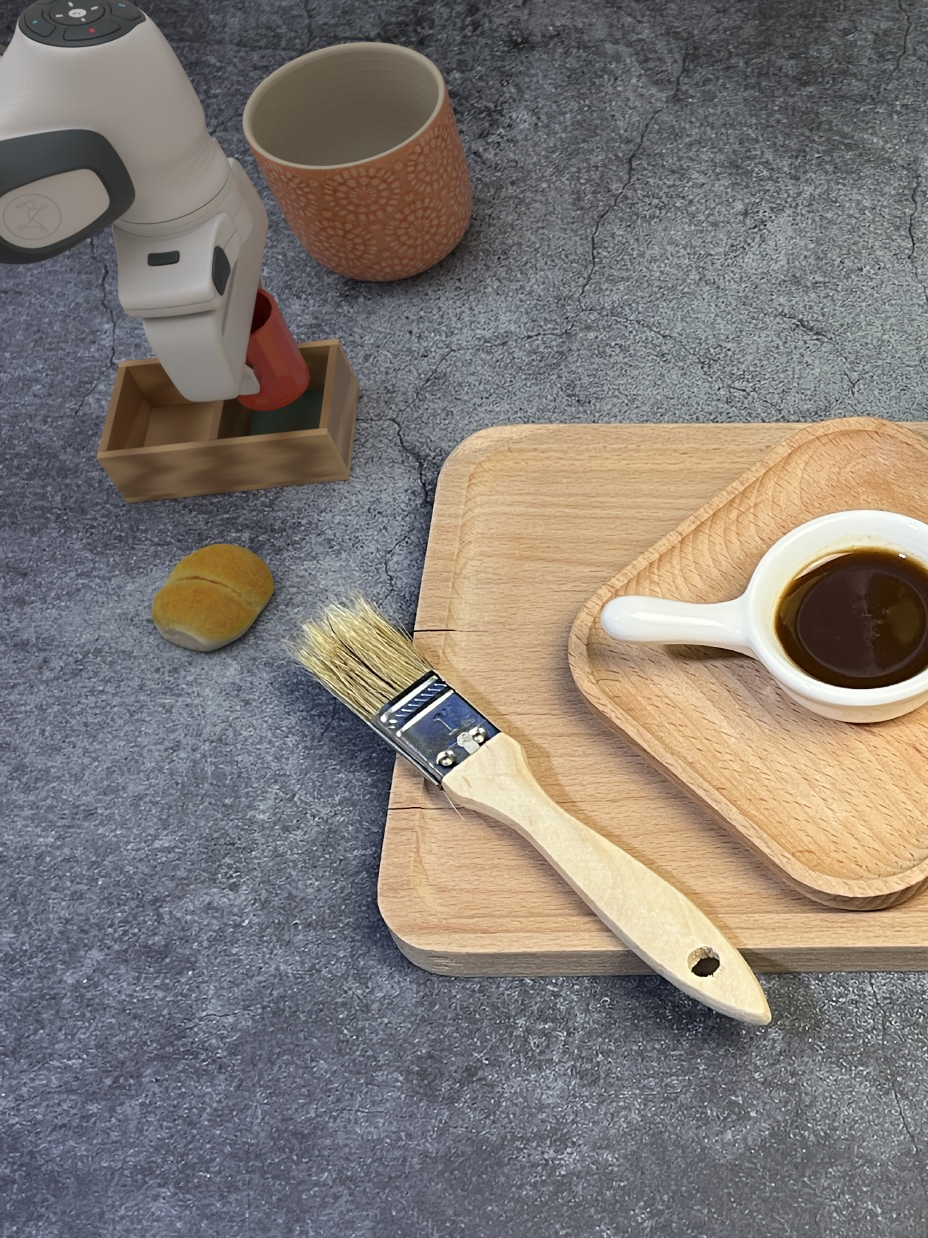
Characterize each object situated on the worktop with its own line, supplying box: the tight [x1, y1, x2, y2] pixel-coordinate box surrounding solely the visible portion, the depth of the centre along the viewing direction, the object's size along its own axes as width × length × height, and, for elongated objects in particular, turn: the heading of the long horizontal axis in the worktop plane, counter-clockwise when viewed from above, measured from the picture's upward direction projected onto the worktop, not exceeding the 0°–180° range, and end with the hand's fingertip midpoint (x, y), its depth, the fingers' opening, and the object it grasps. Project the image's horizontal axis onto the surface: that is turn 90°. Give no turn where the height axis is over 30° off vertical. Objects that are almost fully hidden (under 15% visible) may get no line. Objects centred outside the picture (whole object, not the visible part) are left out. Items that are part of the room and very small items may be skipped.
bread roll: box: [150, 543, 275, 652], centre depth 115 cm, size 8×9×4 cm
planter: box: [242, 41, 473, 283], centre depth 133 cm, size 17×17×15 cm
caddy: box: [96, 338, 361, 504], centre depth 124 cm, size 18×11×6 cm, turn 96°
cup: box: [236, 288, 310, 411], centre depth 118 cm, size 6×6×8 cm
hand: (256, 353), depth 118 cm, fingers closed on cup, 6 cm apart
